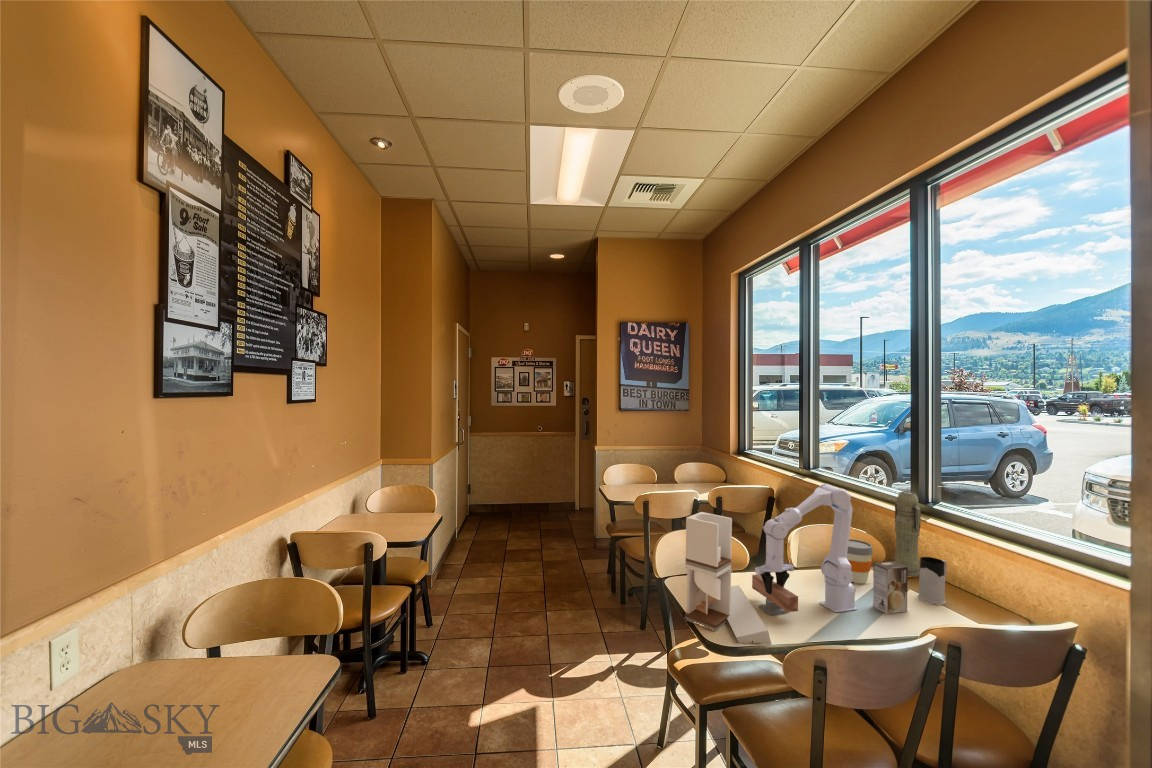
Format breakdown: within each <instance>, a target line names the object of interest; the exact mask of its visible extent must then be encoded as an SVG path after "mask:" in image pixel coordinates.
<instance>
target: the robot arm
mask: <svg viewBox="0 0 1152 768" xmlns="http://www.w3.org/2000/svg"><path fill="white" fill-rule="evenodd" d="M851 497H852V496H851V494H850V493H849V492H848V491H847V490H846V489H844V488H839V487H836V486H835V485H834V486H833V485H830V483H822V484H821V485H819V487H818V486H817V487H816V488H815V490H814V491H813V493H811V495H809V496H808V497H807V498H806V499H804V500H803V501H802V502H801V503H800V504H798V505H797V506H796V507H789V508H788V507H786V508H785V509H784V511H783V512H782V513H780V514H779V515H778V516H774V519H771V518H770V519H769V520H767V521H766V522H765V523H764V525H763V526H762V529H763V532H764V533H765V538H766V539H765V541H766V542H765V544H766V545H765V547H766V549H765V550H766V551H765V556H766V557H765V564H763V565H761V566H756V567H755V568H754V569H755V570H754V571H755V575H756V574H758V575H761V577H762V579H763V582H764V585H765V589H766V592H767V593H768V594H771V592H772V582H773V581H774V579H775V580H776V581H775V582H776V583H777V584H779V585H780V586H782V587H784V588H785V584H786V583H787V581H788V579H789V578H790V573H789V572H794V570H795V569H794V565H792V564H790V563H784V540H785V538H786V537H787V536H788V533H789V531H790V530H791V529H793V528H794V527H795V526H797V525H799V523H801V522H802V520H803V516H804V515H806V514H808V513H810V512H811V511H813V510H814V509H817V508H818V507H820V506H829V507H831V509H832V510H833V511H834V517H833V526H832V532H831V533H832V535H831V542H830V550H829V553H828V554H827V555H825V556H824V560H823V562H822V564H821V566H820V571H821V574H823V576H824V583H825V585H824V600H821V601H818V602H819V605H822V606H823V607H825V608H827V609H828V610H830V611H832V612H834V613H840V612H842V613H843V612H849V611H856V610H857V609H858V608H857V607H855V606H856V604H855V603H856V590H855V587H854V586H853V583H851V581H852V578H853V576H852V572H851V565H850V563H849V561H848V559H847V551H848V543H849V539H850V535H851V528H852V527H851V526H852V518H853V510H854V509H853V505H852V502H851V500H852V498H851ZM772 573H774V575H775V576H773V575H772Z"/></svg>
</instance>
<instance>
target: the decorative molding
mask: <svg viewBox="0 0 1152 768" xmlns="http://www.w3.org/2000/svg"><path fill="white" fill-rule="evenodd" d="M727 620H728V623H729V625H730V627H731V630H732V632H733V633H734V636H735V638H736V639H737V643H739V644H740V643H741V644H742V643H744V644H752V643H753V644H762V645H771V644H772V641H771V637H770V633H769V630H768V628H767V627H766V625H765V624H764V621H763V620H762V619H761V617H760V615H759V614H758V613H757V611H756V609H755V607H753V604H752V603H751V602H750V600H749V598H748V597H747V596H746V593H745V592H744V591H743V590H742V588H741V586H740V584H737V585H734V586H732V585H731V612H730V615H729V617H728V618H727Z"/></svg>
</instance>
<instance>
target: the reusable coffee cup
mask: <svg viewBox="0 0 1152 768" xmlns="http://www.w3.org/2000/svg"><path fill="white" fill-rule="evenodd" d="M873 554H874V551H873V545H872V544H871V543H869V542H866V541H863V540H859V539H852V538H849V543H848V551H847V559H848V561H849V563H850V565H851V572H852V576H853V578H852V581H851V582H854V583H853V584H856V583H865V584H867V583H868V578H869V572H871V569H872V561H873V559H872V556H873ZM866 582H867V583H866Z"/></svg>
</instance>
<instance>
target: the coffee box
mask: <svg viewBox="0 0 1152 768" xmlns="http://www.w3.org/2000/svg"><path fill="white" fill-rule="evenodd" d="M907 568H908V567H906V566H903V565H901V564H898V563H896V562H894V561H893V560H892V561H882V562H873V569H872V570H873V572H872V573H873V574H872V576H873V578H872V580H873V581H872V582H873V584H872V587H873V588H872V591H873V592H872V593H873V597H872V598H873V599H872V606H873V608H875V609H877V610H879V611H881V612H883V613H885V614H887V615H890V614H897V613H902V612H903V613H904V612H907V611H908V577H907V575H908V574H907V572H908V570H907Z"/></svg>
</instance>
